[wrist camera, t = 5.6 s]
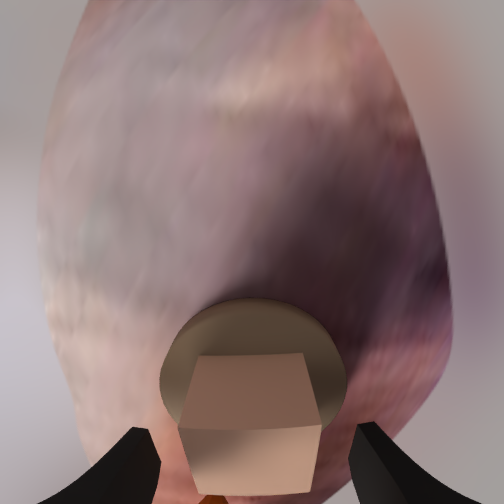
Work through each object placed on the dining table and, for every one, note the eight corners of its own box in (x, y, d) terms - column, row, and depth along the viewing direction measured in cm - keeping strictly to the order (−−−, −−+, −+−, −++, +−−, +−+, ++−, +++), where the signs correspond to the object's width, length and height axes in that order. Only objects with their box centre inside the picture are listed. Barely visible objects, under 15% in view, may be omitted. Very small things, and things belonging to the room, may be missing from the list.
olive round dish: (328, 422, 14) (335, 447, 12) (184, 425, 14) (178, 450, 13) (342, 289, 12) (356, 308, 11) (157, 296, 13) (142, 315, 11)
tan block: (298, 423, 12) (309, 491, 8) (210, 425, 12) (199, 494, 8) (302, 352, 11) (321, 424, 7) (198, 355, 11) (177, 427, 7)
